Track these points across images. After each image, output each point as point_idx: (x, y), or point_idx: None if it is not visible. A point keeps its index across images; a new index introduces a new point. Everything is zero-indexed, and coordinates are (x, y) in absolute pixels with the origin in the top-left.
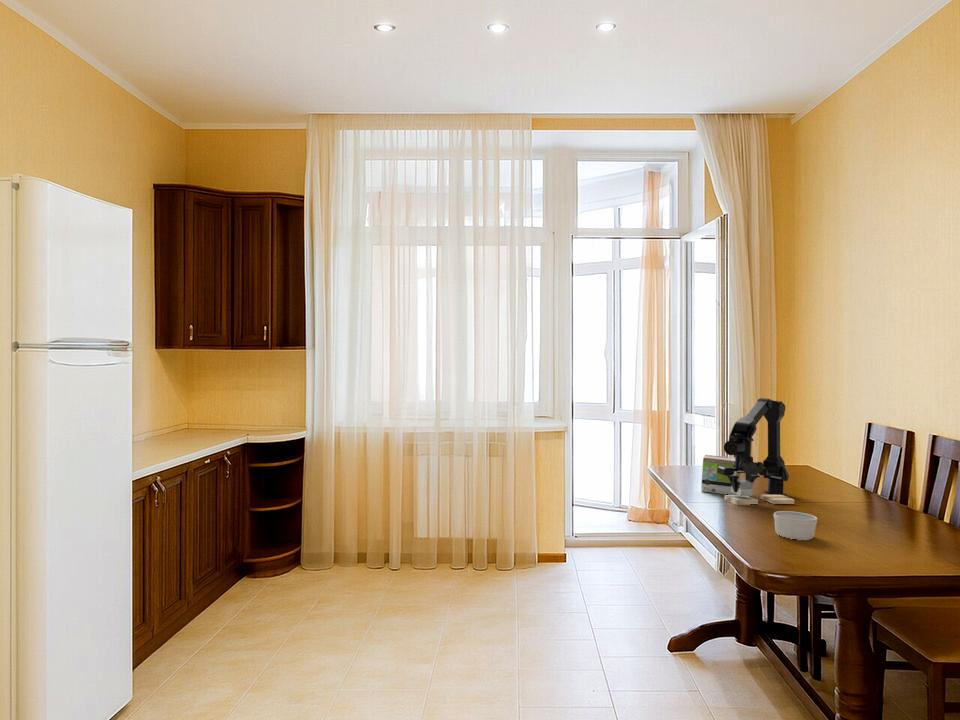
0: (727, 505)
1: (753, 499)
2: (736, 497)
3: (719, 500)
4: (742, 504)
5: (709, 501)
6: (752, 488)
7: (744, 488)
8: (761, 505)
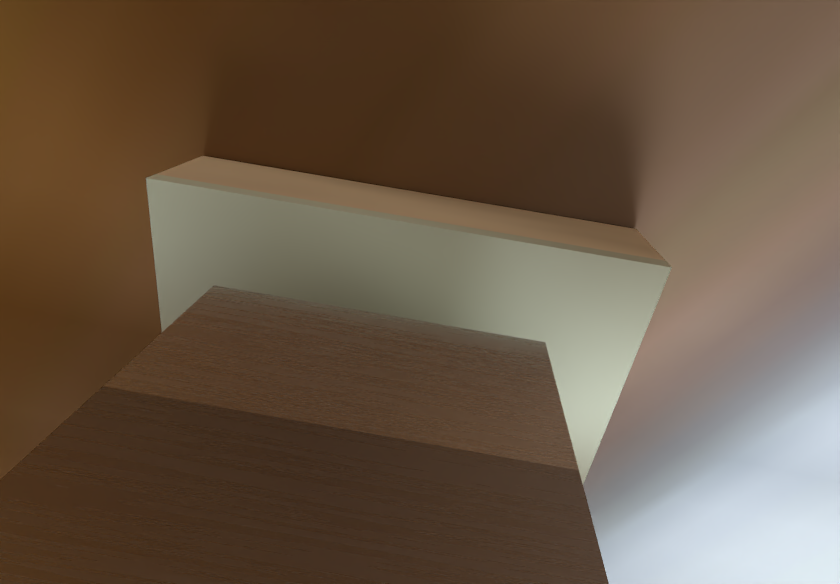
0: (823, 262)
1: (225, 238)
2: None
3: (622, 527)
4: (517, 212)
5: (837, 524)
6: (92, 401)
7: (436, 463)
8: (139, 116)
